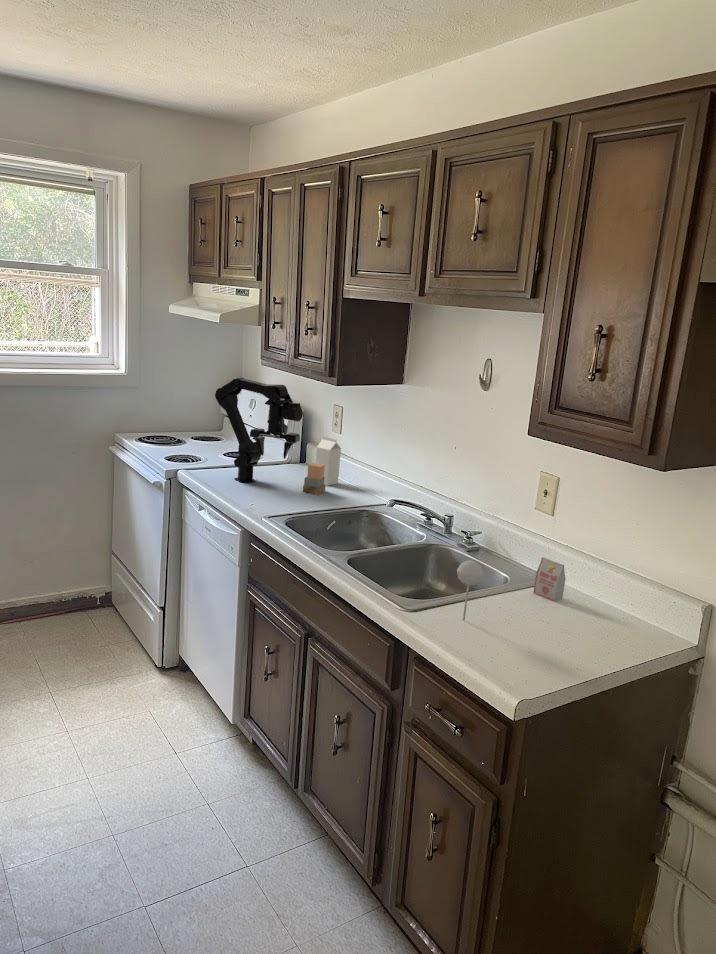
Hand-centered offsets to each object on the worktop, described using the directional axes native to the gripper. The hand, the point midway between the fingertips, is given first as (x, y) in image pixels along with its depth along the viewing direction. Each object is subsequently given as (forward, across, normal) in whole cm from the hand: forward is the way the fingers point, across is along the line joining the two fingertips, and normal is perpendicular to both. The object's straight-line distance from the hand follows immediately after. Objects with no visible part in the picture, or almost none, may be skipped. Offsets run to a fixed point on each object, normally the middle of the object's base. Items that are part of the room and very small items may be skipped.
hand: (273, 457), depth 279 cm
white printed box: (+12, -106, +69) cm, 127 cm away
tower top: (+9, -17, -2) cm, 19 cm away
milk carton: (+12, -17, -18) cm, 28 cm away
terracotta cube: (+6, -17, -2) cm, 18 cm away
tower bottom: (+12, -17, -2) cm, 21 cm away
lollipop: (+12, -86, +95) cm, 129 cm away
